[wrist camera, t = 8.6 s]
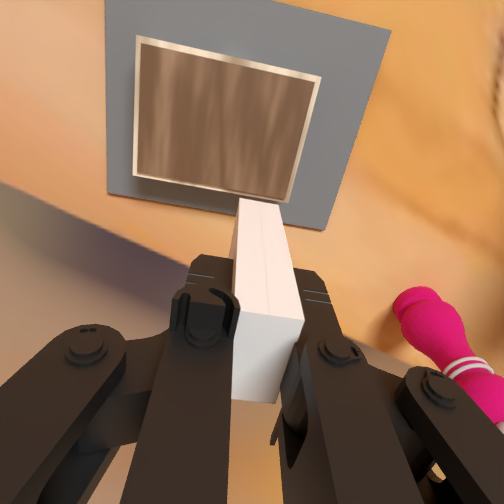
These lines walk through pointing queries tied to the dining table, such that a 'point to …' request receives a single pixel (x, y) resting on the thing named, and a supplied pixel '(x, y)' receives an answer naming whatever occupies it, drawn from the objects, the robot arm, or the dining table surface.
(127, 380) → the robot arm
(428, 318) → the pepper mill
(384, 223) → the dining table surface
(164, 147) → the brown wooden block
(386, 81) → the dining table surface
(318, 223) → the mat
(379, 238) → the dining table surface
